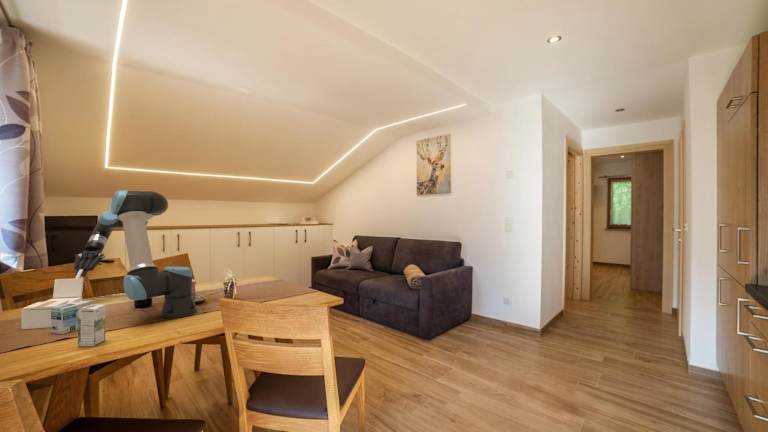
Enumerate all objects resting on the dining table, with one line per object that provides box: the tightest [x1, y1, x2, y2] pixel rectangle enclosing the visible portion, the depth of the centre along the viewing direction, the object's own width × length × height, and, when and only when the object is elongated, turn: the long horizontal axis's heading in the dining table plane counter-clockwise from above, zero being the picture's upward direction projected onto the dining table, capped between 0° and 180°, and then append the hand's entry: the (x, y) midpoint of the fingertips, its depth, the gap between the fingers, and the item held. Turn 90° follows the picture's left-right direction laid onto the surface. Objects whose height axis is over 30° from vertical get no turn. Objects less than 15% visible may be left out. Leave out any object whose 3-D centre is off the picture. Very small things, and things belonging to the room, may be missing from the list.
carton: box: [20, 296, 83, 330], centre depth 147 cm, size 18×12×9 cm, turn 16°
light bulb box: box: [50, 300, 91, 335], centre depth 138 cm, size 11×7×11 cm, turn 168°
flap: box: [52, 277, 85, 299], centre depth 157 cm, size 9×11×1 cm
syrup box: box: [77, 303, 107, 347], centre depth 125 cm, size 6×6×14 cm
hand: (76, 281), depth 164 cm, fingers closed
